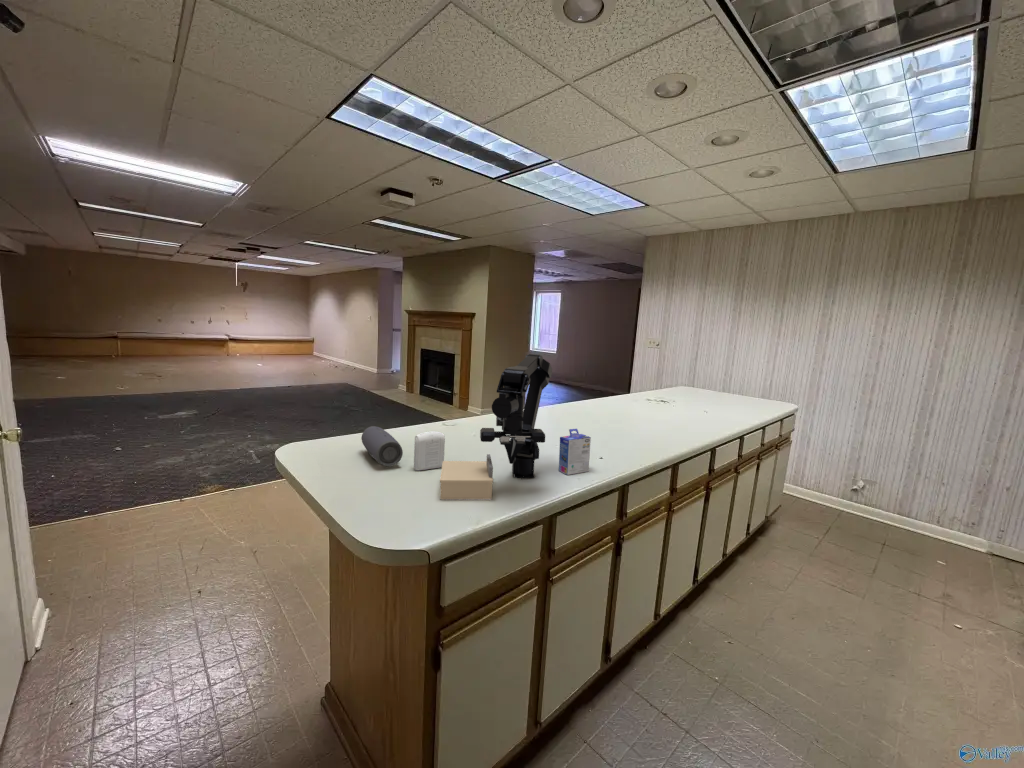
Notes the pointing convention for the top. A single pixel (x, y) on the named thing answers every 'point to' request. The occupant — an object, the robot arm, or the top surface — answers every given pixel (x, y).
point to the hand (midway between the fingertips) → (510, 463)
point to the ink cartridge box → (574, 453)
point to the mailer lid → (467, 471)
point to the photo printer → (429, 450)
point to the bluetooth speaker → (382, 446)
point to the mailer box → (465, 491)
